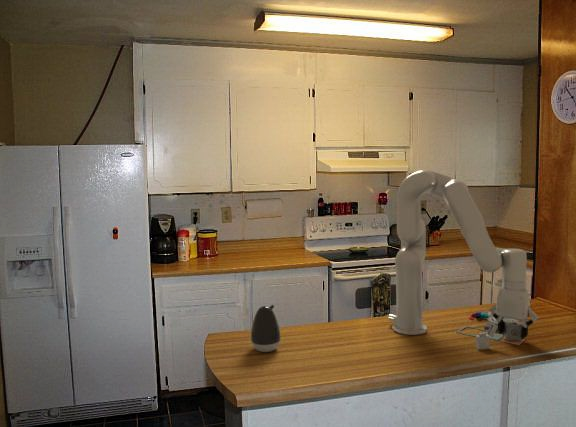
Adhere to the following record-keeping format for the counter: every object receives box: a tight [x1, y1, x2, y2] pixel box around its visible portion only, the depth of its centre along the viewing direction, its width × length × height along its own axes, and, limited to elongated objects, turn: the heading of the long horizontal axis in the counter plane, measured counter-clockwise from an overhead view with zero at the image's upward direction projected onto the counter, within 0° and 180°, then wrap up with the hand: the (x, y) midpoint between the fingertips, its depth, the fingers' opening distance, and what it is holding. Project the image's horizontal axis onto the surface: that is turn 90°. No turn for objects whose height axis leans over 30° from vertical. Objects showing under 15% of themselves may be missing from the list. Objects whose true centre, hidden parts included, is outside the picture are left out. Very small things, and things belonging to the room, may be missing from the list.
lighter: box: [475, 323, 498, 351], centre depth 163 cm, size 7×2×8 cm, turn 101°
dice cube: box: [503, 320, 523, 340], centre depth 169 cm, size 5×5×5 cm
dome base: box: [483, 316, 518, 334], centre depth 182 cm, size 10×10×3 cm
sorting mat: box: [456, 325, 525, 346], centre depth 174 cm, size 21×8×1 cm, turn 47°
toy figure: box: [468, 309, 496, 320], centre depth 192 cm, size 8×5×15 cm
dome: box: [494, 317, 512, 323], centre depth 182 cm, size 6×6×4 cm
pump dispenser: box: [250, 304, 282, 353], centre depth 166 cm, size 10×10×15 cm
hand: (512, 334), depth 169 cm, fingers closed on dice cube, 6 cm apart
